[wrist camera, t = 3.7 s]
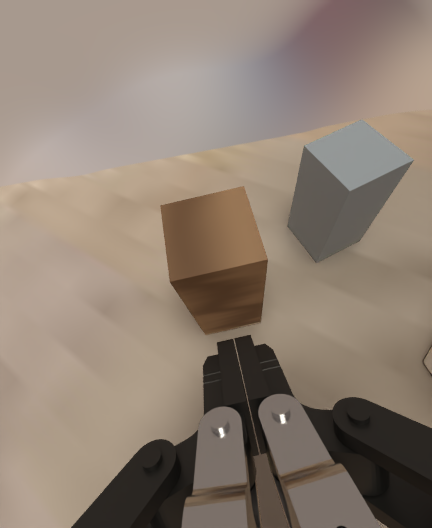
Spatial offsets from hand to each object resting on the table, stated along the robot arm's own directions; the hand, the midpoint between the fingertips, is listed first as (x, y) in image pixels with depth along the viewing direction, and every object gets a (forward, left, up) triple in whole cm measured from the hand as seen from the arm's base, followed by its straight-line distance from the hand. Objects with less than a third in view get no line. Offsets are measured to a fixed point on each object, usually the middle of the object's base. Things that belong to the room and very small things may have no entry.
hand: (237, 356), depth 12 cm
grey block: (-11, -12, -12) cm, 20 cm away
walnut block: (0, -7, -12) cm, 13 cm away
